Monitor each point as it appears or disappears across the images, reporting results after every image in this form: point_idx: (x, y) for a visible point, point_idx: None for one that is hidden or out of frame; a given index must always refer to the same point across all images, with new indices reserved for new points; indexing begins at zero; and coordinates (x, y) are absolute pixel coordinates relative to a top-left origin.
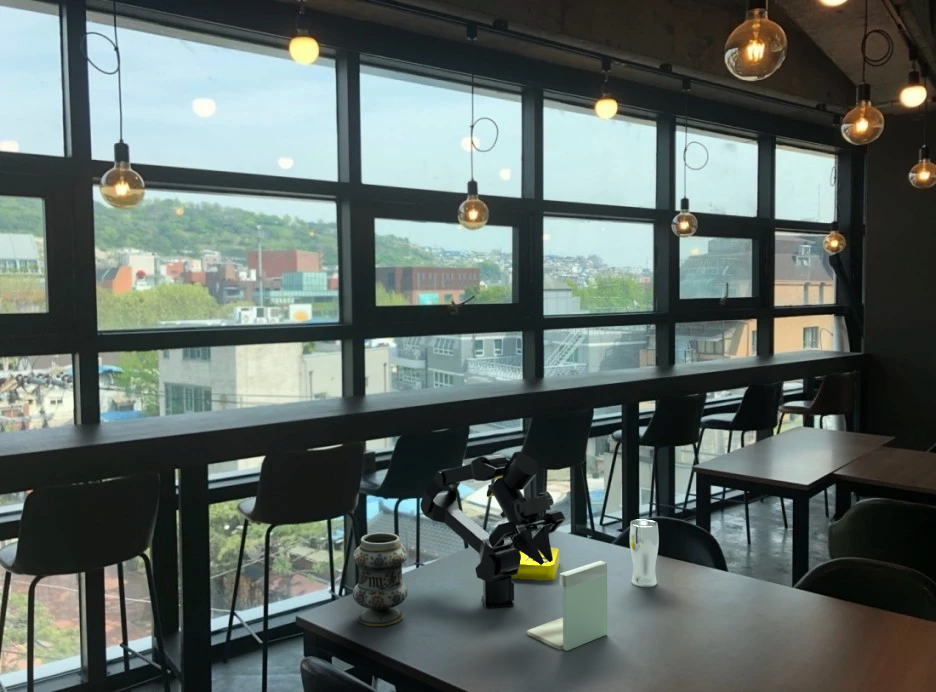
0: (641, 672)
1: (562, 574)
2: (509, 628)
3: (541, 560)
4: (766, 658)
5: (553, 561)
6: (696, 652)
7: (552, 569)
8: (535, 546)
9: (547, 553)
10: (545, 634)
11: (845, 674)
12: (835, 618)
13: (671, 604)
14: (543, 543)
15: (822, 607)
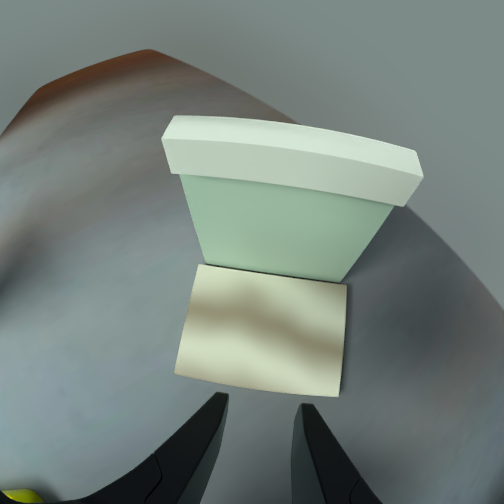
0: None
1: (419, 166)
2: None
3: (318, 412)
4: (157, 95)
5: None
6: None
7: (19, 496)
8: (335, 488)
9: (216, 437)
10: (324, 348)
11: (159, 64)
12: (39, 112)
13: (27, 238)
14: (186, 500)
15: (17, 129)
